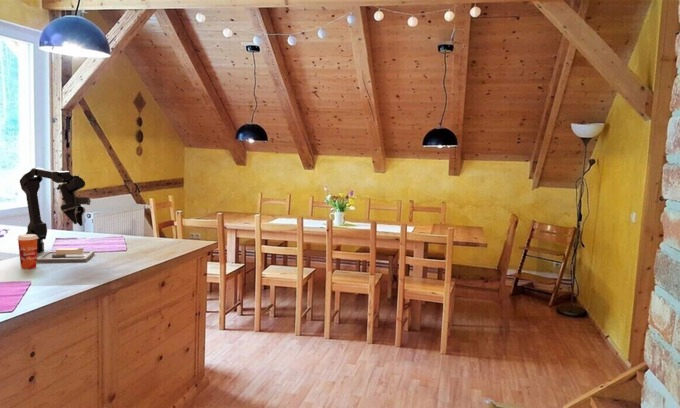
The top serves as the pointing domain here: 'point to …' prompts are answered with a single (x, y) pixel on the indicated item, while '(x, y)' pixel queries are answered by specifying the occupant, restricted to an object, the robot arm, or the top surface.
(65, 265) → the top surface
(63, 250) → the long cream stick
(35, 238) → the coffee cup
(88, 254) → the board
